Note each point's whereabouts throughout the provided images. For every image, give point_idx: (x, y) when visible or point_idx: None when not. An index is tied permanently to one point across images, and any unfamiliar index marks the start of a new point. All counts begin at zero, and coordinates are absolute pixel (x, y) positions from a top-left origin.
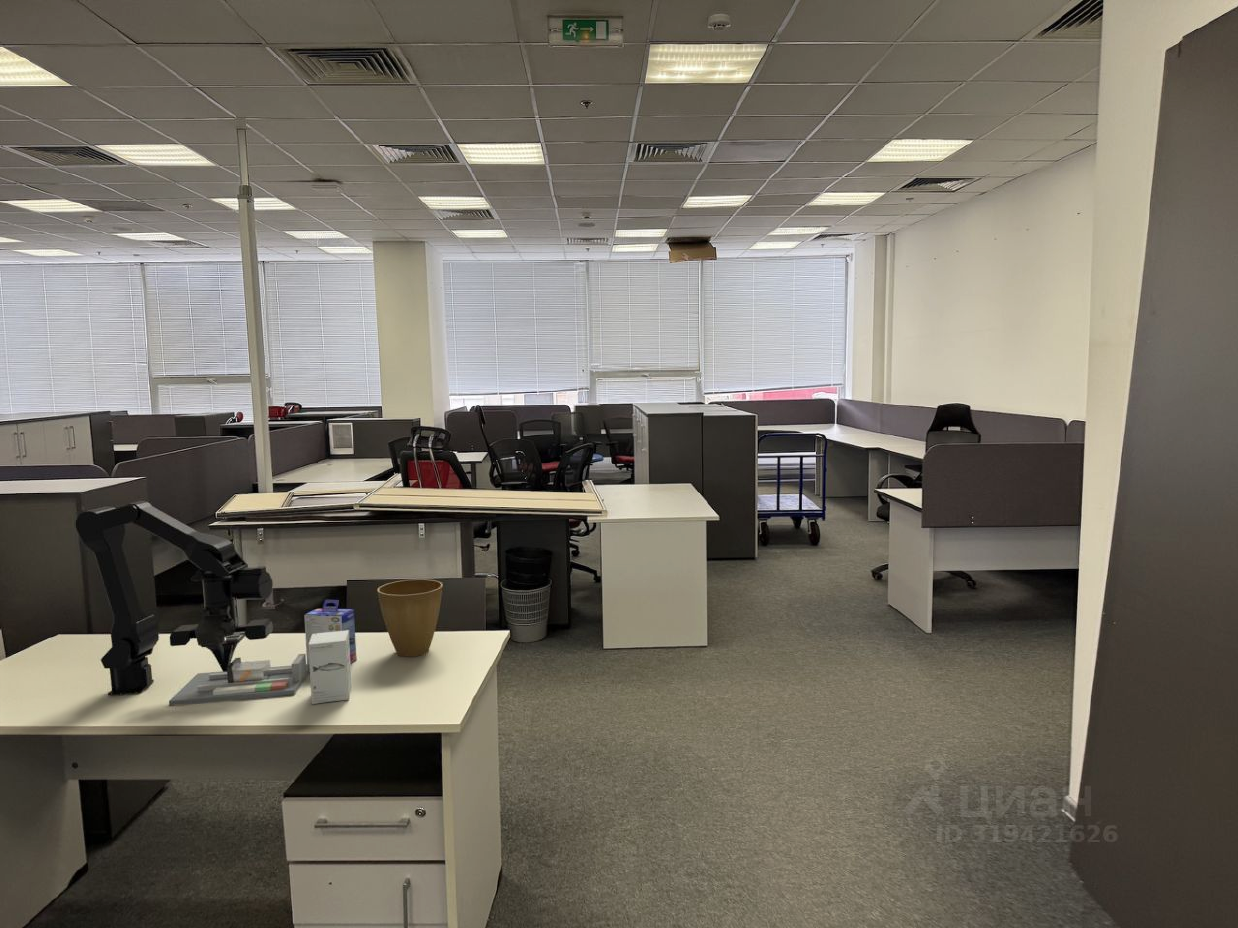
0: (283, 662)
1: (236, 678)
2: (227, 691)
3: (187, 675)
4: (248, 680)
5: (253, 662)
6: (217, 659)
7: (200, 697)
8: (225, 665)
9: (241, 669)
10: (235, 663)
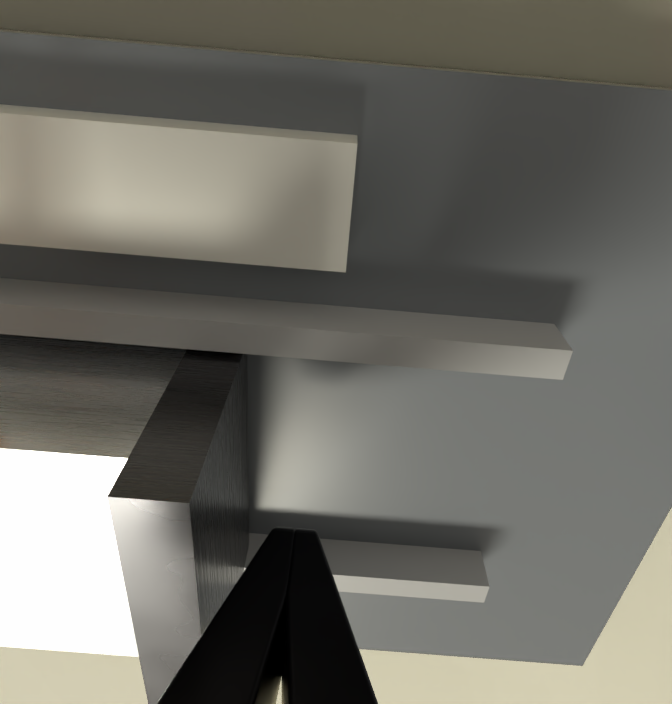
0: (70, 686)
1: (138, 386)
2: (172, 125)
3: (639, 676)
4: (19, 353)
5: (10, 623)
6: (361, 700)
7: (505, 110)
8: (263, 588)
9: (32, 472)
10: (135, 603)
